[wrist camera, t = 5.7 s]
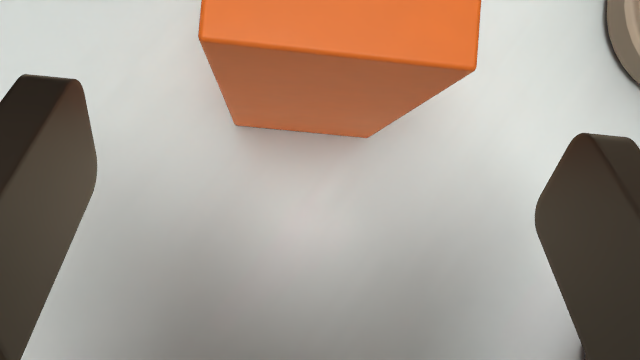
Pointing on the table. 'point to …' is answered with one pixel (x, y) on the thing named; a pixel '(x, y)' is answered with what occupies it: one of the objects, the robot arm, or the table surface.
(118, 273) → the table surface
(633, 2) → the travel mug
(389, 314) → the table surface
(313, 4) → the box
